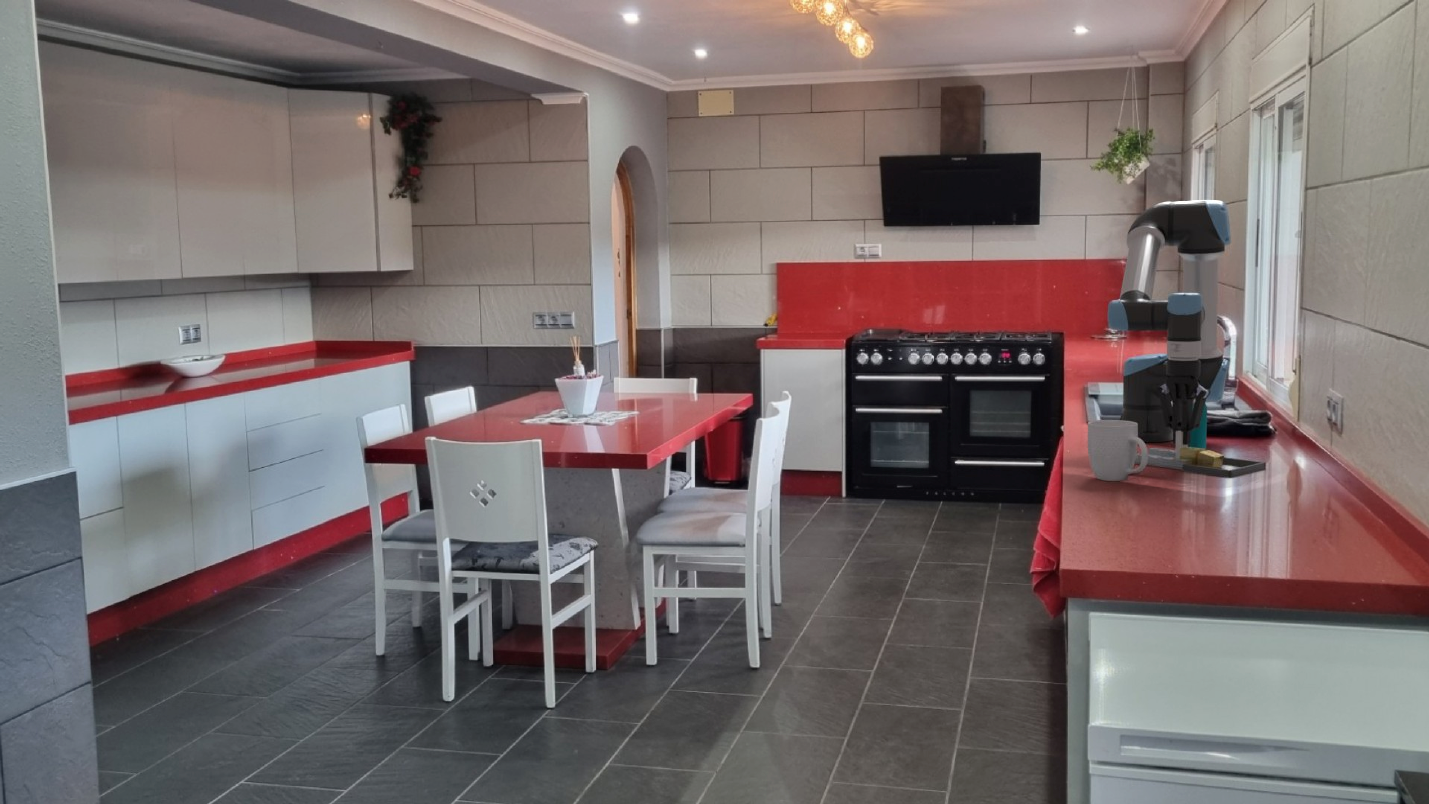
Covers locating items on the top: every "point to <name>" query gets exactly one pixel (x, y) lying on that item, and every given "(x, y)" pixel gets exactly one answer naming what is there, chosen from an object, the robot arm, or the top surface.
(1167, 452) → the slot board
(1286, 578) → the top surface
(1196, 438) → the beverage can
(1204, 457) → the tan cardboard cube
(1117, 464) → the mug
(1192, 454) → the tan block
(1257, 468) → the tray
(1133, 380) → the robot arm
